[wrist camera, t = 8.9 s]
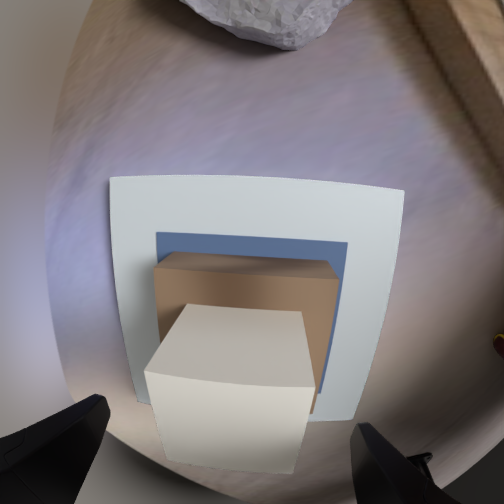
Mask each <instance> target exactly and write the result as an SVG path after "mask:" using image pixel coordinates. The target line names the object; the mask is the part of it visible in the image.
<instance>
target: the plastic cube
mask: <svg viewBox="0 0 504 504" xmlns="http://www.w3.org/2000/svg"><path fill="white" fill-rule="evenodd" d="M144 374H145V379H146V383H147V388H148V392H149V396H150V401H151V405H152V409H153V413H154V417H155V420H156V424H157V428H158V431H159V435H160V438H161V442H162V445H163V448H164V451H165V455H166V458H167V460H169V461H174V462H179V463H184V464H189V465H195V466H201V467H207V468H214V469H222V470H231V471H241V472H254V473H277V474H293V471H294V468H295V464H296V461H297V458H298V454H299V451H300V447H301V444H302V440H303V436H304V433H305V429H306V425H307V421H308V417H309V413H310V409H311V405H312V401H313V396H314V392H315V388H316V387H315V382H314V376H313V370H312V365H311V359H310V354H309V348H308V343H307V338H306V333H305V327H304V322H303V317H302V312H301V311H279V310H261V309H245V308H232V307H219V306H207V305H196V304H187V305H186V306H185V308H184V309H183V311H182V312H181V314H180V315H179V317H178V318H177V320H176V321H175V323H174V325H173V326H172V328H171V329H170V331H169V332H168V334H167V335H166V337H165V338H164V340H163V341H162V343H161V345H160V346H159V348H158V349H157V351H156V352H155V354H154V355H153V357H152V359H151V360H150V362H149V363H148V365H147V366H146V368H145V370H144Z"/></svg>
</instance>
